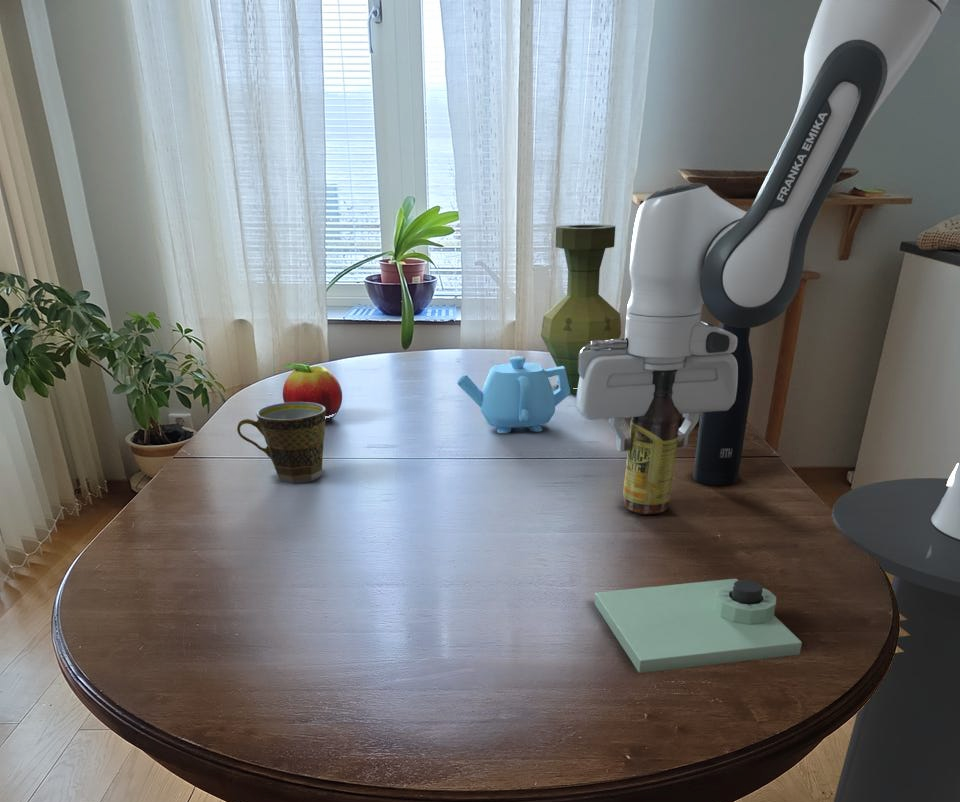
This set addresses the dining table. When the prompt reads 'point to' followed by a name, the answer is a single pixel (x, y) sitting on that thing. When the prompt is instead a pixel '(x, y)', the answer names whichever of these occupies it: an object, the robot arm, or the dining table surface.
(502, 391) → the teapot
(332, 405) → the fruit
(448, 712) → the dining table surface
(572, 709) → the dining table surface
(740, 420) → the navy water bottle
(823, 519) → the dining table surface
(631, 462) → the sauce bottle
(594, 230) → the vase
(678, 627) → the green panel with knob
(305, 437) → the ceramic cup
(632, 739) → the dining table surface
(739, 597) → the button
